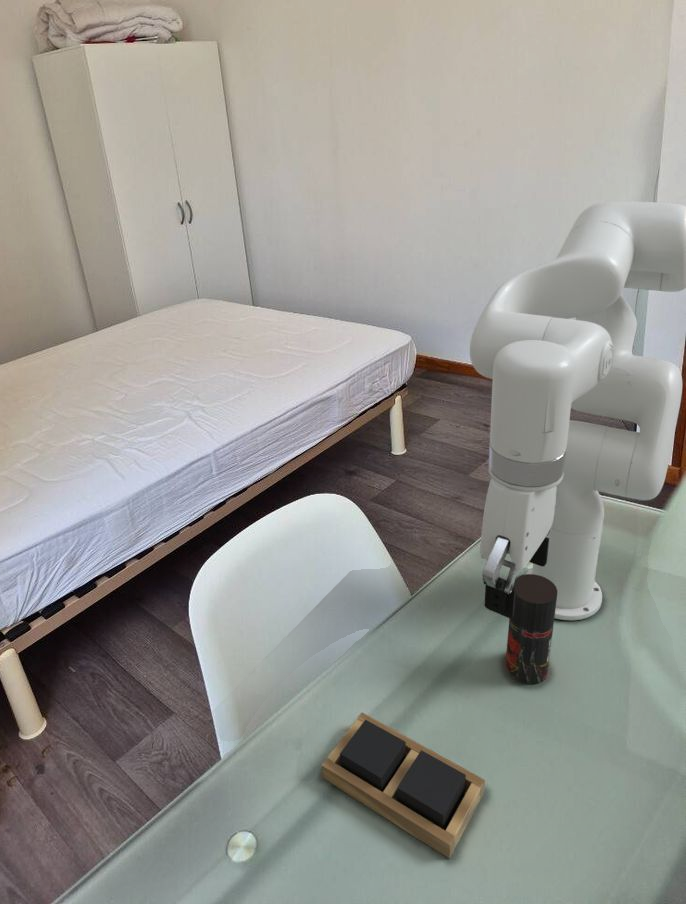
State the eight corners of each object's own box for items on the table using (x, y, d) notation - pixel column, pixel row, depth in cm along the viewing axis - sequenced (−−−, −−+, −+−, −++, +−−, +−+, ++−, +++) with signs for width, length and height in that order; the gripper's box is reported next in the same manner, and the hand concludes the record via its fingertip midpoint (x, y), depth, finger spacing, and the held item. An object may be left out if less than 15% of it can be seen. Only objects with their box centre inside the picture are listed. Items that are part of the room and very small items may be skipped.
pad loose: (420, 771, 87) (421, 749, 85) (464, 796, 84) (465, 774, 82) (397, 809, 83) (396, 787, 81) (442, 837, 79) (443, 815, 78)
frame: (362, 724, 94) (361, 712, 92) (484, 793, 84) (485, 779, 83) (322, 778, 87) (321, 764, 86) (449, 859, 77) (450, 845, 76)
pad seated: (366, 740, 91) (365, 719, 90) (405, 762, 88) (405, 741, 86) (341, 774, 87) (339, 753, 85) (381, 799, 84) (381, 778, 82)
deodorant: (549, 686, 97) (560, 605, 91) (506, 682, 98) (513, 601, 92) (545, 655, 102) (554, 576, 96) (504, 650, 104) (510, 572, 97)
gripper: (523, 415, 79) (514, 534, 87) (455, 490, 67) (452, 619, 75) (590, 431, 75) (574, 554, 83) (530, 514, 63) (518, 649, 71)
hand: (516, 585), depth 79 cm, fingers open, 9 cm apart
